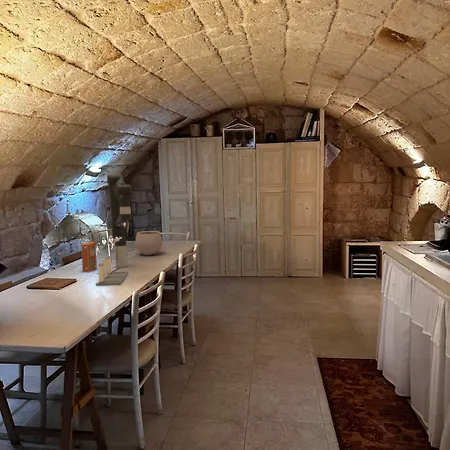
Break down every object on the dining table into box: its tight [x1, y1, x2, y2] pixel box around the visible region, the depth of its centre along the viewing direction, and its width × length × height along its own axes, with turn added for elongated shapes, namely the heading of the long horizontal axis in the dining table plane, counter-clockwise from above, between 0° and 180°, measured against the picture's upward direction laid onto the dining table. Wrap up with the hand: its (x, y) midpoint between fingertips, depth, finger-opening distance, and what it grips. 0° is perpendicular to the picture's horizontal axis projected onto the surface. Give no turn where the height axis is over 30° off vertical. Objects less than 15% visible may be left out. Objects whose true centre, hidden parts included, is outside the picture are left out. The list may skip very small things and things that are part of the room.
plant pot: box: [135, 223, 163, 256], centre depth 393 cm, size 24×24×30 cm
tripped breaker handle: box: [101, 259, 108, 278], centre depth 301 cm, size 3×5×12 cm, turn 4°
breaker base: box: [95, 255, 129, 287], centre depth 301 cm, size 16×35×14 cm, turn 4°
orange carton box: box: [80, 241, 98, 273], centre depth 331 cm, size 21×7×15 cm
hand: (126, 237), depth 303 cm, fingers closed
